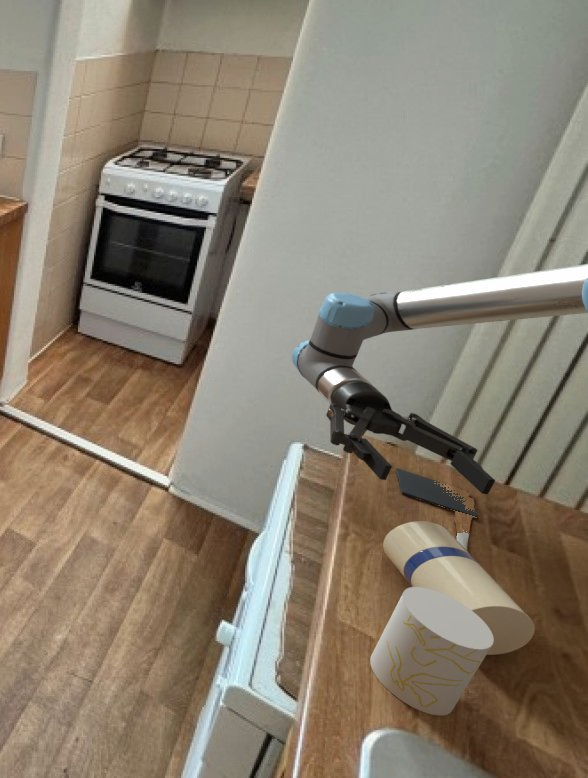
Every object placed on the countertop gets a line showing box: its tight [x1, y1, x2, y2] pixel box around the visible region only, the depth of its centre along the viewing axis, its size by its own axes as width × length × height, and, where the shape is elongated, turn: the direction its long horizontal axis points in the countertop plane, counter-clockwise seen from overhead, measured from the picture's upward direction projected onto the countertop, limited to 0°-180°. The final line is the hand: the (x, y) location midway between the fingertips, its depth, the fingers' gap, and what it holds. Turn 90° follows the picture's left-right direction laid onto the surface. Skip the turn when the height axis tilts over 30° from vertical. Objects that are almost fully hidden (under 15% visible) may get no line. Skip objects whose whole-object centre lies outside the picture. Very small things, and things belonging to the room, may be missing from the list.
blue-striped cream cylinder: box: [382, 520, 536, 656], centre depth 86 cm, size 14×9×9 cm, turn 169°
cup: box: [369, 586, 494, 716], centre depth 75 cm, size 8×8×12 cm
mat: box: [395, 467, 479, 518], centre depth 109 cm, size 10×8×1 cm
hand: (436, 480), depth 91 cm, fingers open, 13 cm apart
